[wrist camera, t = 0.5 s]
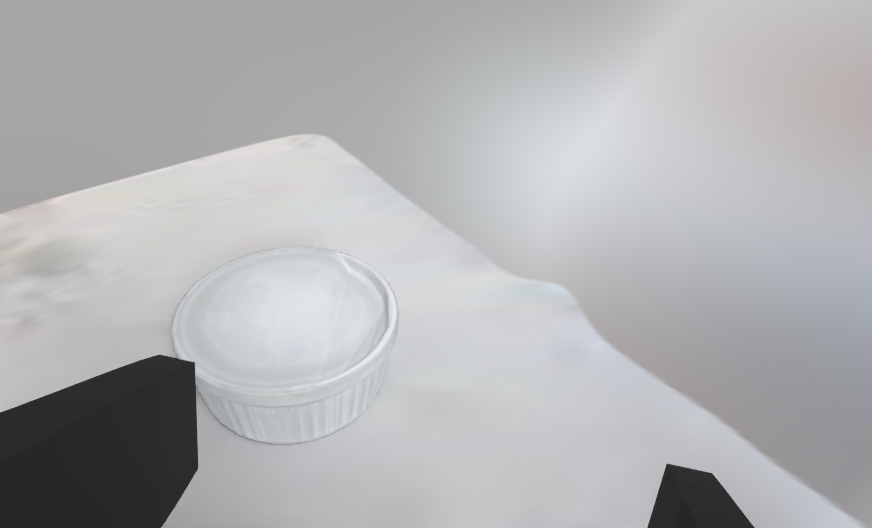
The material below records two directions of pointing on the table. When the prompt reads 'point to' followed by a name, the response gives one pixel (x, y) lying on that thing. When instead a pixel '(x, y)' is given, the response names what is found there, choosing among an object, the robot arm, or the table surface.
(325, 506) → the table surface
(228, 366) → the ramekin
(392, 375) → the table surface
